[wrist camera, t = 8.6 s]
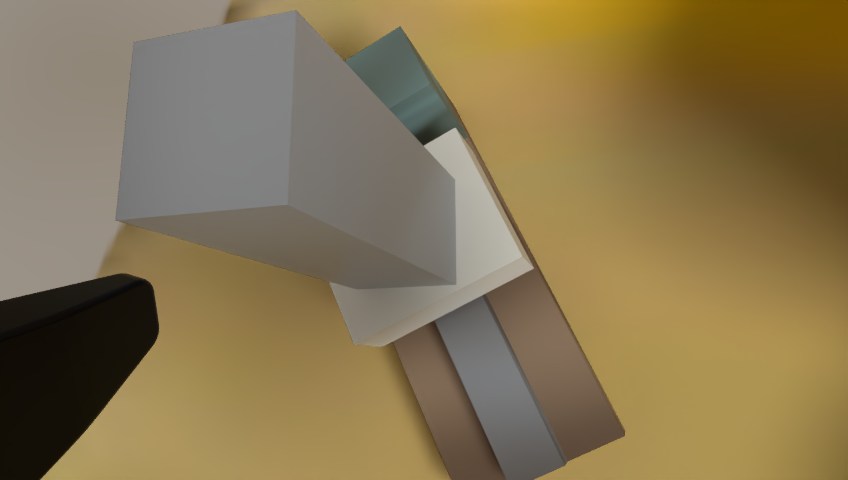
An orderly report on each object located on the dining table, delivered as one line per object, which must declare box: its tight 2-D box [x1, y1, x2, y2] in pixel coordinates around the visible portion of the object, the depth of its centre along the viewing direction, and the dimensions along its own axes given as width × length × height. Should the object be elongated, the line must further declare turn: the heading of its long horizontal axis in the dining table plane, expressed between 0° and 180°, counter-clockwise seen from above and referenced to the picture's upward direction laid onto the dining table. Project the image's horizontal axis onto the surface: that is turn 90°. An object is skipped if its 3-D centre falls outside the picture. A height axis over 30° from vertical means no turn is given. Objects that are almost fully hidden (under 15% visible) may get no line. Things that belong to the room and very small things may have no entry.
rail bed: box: [344, 27, 625, 480], centre depth 18 cm, size 12×5×6 cm, turn 24°
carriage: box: [116, 10, 534, 347], centre depth 14 cm, size 4×5×10 cm
